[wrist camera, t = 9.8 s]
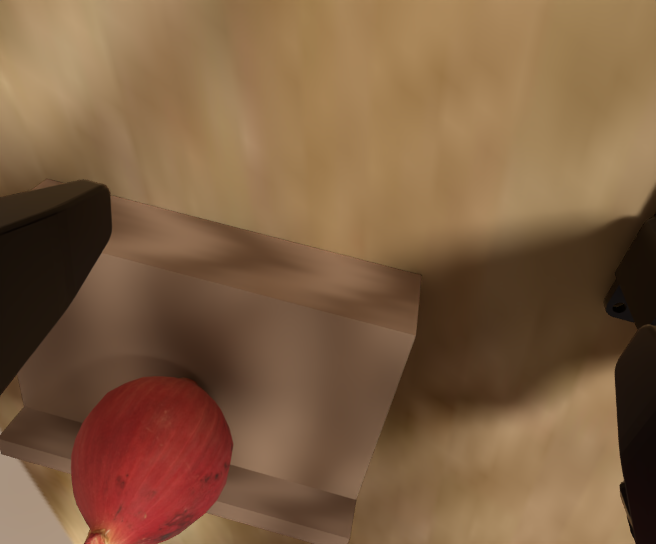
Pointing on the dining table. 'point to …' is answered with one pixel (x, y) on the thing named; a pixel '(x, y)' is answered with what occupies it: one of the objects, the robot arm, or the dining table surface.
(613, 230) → the dining table surface
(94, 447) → the onion
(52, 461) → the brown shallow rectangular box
